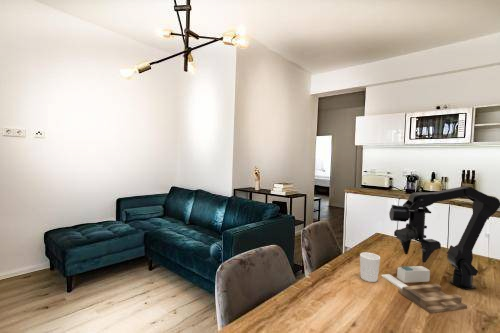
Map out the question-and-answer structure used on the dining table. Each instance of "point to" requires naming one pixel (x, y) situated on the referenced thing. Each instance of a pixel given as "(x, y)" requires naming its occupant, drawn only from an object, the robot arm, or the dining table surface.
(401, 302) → the dining table surface
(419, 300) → the cradle
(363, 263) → the white cup
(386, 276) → the strip
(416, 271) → the white box
